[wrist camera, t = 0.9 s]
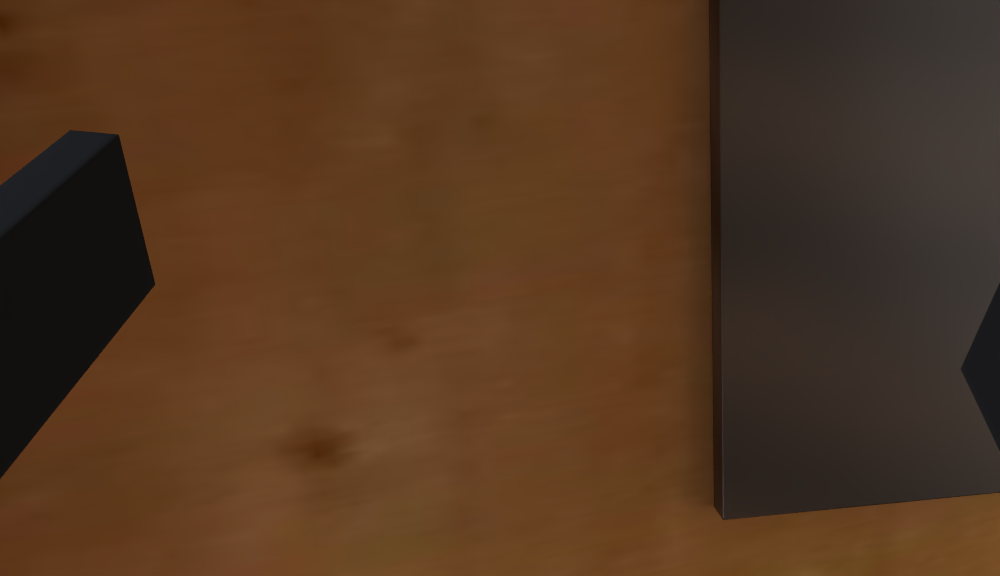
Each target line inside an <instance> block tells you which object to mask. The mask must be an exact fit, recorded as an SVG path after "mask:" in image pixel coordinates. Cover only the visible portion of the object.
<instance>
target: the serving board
mask: <svg viewBox="0 0 1000 576" xmlns="http://www.w3.org/2000/svg"><path fill="white" fill-rule="evenodd" d="M709 42H710V143H711V244H712V344H713V445H714V507H715V509H716V510H717V512H718V513H719V515H720V516H721V518H722V519H723V520H728V519H738V518H748V517H758V516H768V515H778V514H788V513H798V512H808V511H818V510H828V509H839V508H849V507H859V506H869V505H879V504H889V503H899V502H909V501H919V500H929V499H939V498H949V497H960V496H970V495H980V494H990V493H1000V451H999V449H998V447H997V445H996V442H995V440H994V438H993V436H992V434H991V432H990V430H989V428H988V426H987V424H986V421H985V419H984V417H983V415H982V413H981V411H980V409H979V407H978V405H977V403H976V400H975V398H974V396H973V394H972V392H971V390H970V388H969V386H968V384H967V382H966V379H965V377H964V375H963V373H962V371H961V367H962V365H963V362H964V360H965V358H966V356H967V354H968V351H969V349H970V347H971V345H972V343H973V340H974V338H975V336H976V334H977V332H978V329H979V327H980V325H981V323H982V321H983V318H984V316H985V314H986V312H987V310H988V307H989V305H990V303H991V301H992V299H993V296H994V294H995V292H996V290H997V288H998V285H999V283H1000V0H709Z"/></svg>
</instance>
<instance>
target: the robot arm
mask: <svg viewBox="0 0 1000 576" xmlns="http://www.w3.org/2000/svg"><path fill="white" fill-rule="evenodd" d="M154 285H155V282H154V278H153V273H152V269H151V265H150V261H149V257H148V253H147V249H146V245H145V241H144V237H143V233H142V228H141V224H140V220H139V216H138V212H137V208H136V204H135V200H134V196H133V192H132V187H131V183H130V179H129V175H128V171H127V167H126V163H125V159H124V155H123V151H122V147H121V142H120V138H119V135H117V134H106V133H95V132H84V131H72V130H70V131H69V132H67V133H66V134H65V135H64V136H62V137H61V138H60V139H59V140H57V141H56V142H55V143H54V144H52V145H51V146H50V147H49V148H47V149H46V150H45V151H43V152H42V153H41V154H40V155H38V156H37V157H36V158H35V159H33V160H32V161H31V162H30V163H28V164H27V165H26V166H25V167H23V168H22V169H21V170H19V171H18V172H17V173H16V174H14V175H13V176H12V177H11V178H9V179H8V180H7V181H6V182H4V183H3V184H2V185H1V186H0V478H1V477H2V476H3V475H4V473H5V472H6V471H7V470H8V468H9V467H10V466H11V465H12V463H13V462H14V461H15V460H16V458H17V457H18V456H19V455H20V453H21V452H22V451H23V450H24V448H25V447H26V446H27V445H28V443H29V442H30V441H31V440H32V438H33V437H34V436H35V435H36V433H37V432H38V431H39V430H40V428H41V427H42V426H43V424H44V423H45V422H46V421H47V419H48V418H49V417H50V416H51V414H52V413H53V412H54V411H55V409H56V408H57V407H58V406H59V404H60V403H61V402H62V401H63V399H64V398H65V397H66V396H67V394H68V393H69V392H70V391H71V389H72V388H73V387H74V386H75V384H76V383H77V382H78V381H79V379H80V378H81V377H82V376H83V374H84V373H85V372H86V371H87V369H88V368H89V367H90V366H91V364H92V363H93V362H94V361H95V359H96V358H97V357H98V356H99V354H100V353H101V352H102V351H103V349H104V348H105V347H106V346H107V344H108V343H109V342H110V341H111V339H112V338H113V337H114V335H115V334H116V333H117V332H118V330H119V329H120V328H121V327H122V325H123V324H124V323H125V322H126V320H127V319H128V318H129V317H130V315H131V314H132V313H133V312H134V310H135V309H136V308H137V307H138V305H139V304H140V303H141V302H142V300H143V299H144V298H145V297H146V295H147V294H148V293H149V292H150V290H151V289H152V288H153V287H154ZM961 371H962V373H963V375H964V377H965V379H966V382H967V384H968V386H969V388H970V390H971V392H972V394H973V396H974V398H975V400H976V403H977V405H978V407H979V409H980V411H981V413H982V415H983V417H984V419H985V421H986V424H987V426H988V428H989V430H990V432H991V434H992V436H993V438H994V440H995V442H996V445H997V447H998V449H999V451H1000V283H999V285H998V288H997V290H996V292H995V294H994V296H993V299H992V301H991V303H990V305H989V307H988V310H987V312H986V314H985V316H984V318H983V321H982V323H981V325H980V327H979V329H978V332H977V334H976V336H975V338H974V340H973V343H972V345H971V347H970V349H969V351H968V354H967V356H966V358H965V360H964V362H963V365H962V367H961Z"/></svg>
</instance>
